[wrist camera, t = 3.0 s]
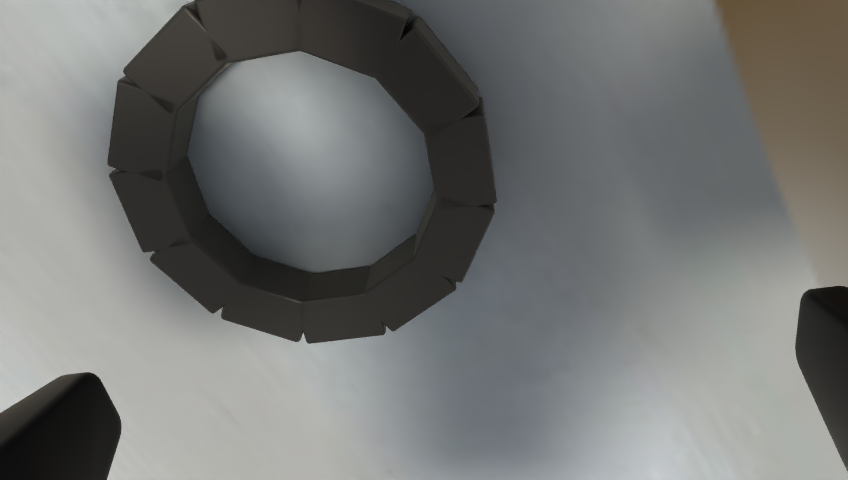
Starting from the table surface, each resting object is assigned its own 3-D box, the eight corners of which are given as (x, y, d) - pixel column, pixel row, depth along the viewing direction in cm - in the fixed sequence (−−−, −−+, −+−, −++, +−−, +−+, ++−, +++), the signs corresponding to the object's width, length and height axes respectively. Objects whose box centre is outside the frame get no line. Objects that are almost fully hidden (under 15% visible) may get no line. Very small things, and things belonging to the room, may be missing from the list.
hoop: (461, -58, 14) (460, -52, 13) (510, 291, 18) (513, 320, 17) (75, 16, 15) (41, 27, 14) (206, 328, 19) (188, 359, 18)
